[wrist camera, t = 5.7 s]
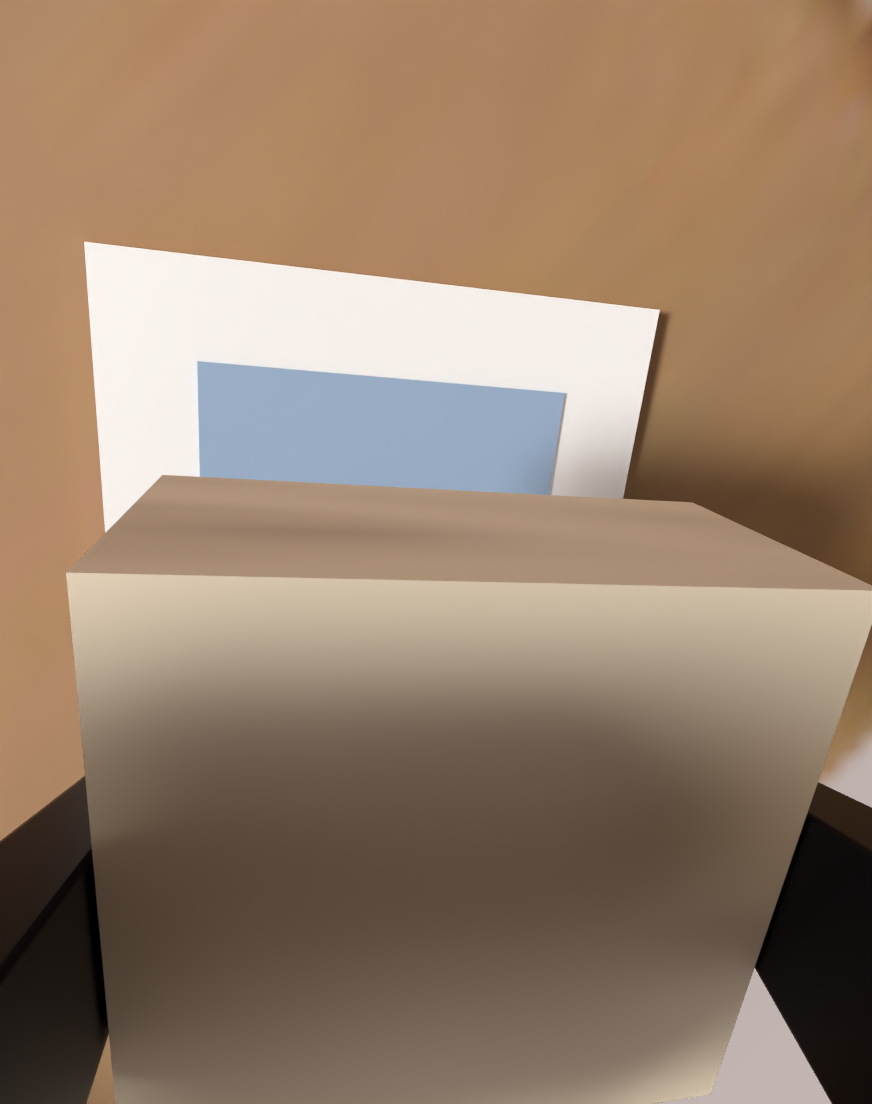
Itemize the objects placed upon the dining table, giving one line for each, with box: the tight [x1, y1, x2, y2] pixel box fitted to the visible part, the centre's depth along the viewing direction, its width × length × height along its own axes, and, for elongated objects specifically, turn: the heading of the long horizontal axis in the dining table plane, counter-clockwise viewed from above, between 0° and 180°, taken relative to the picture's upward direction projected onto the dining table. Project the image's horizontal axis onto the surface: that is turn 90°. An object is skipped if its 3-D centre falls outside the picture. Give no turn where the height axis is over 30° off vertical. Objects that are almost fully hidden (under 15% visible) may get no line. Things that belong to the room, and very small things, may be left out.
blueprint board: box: [84, 242, 660, 533], centre depth 15 cm, size 12×12×1 cm
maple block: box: [66, 475, 872, 1104], centre depth 7 cm, size 6×6×3 cm
